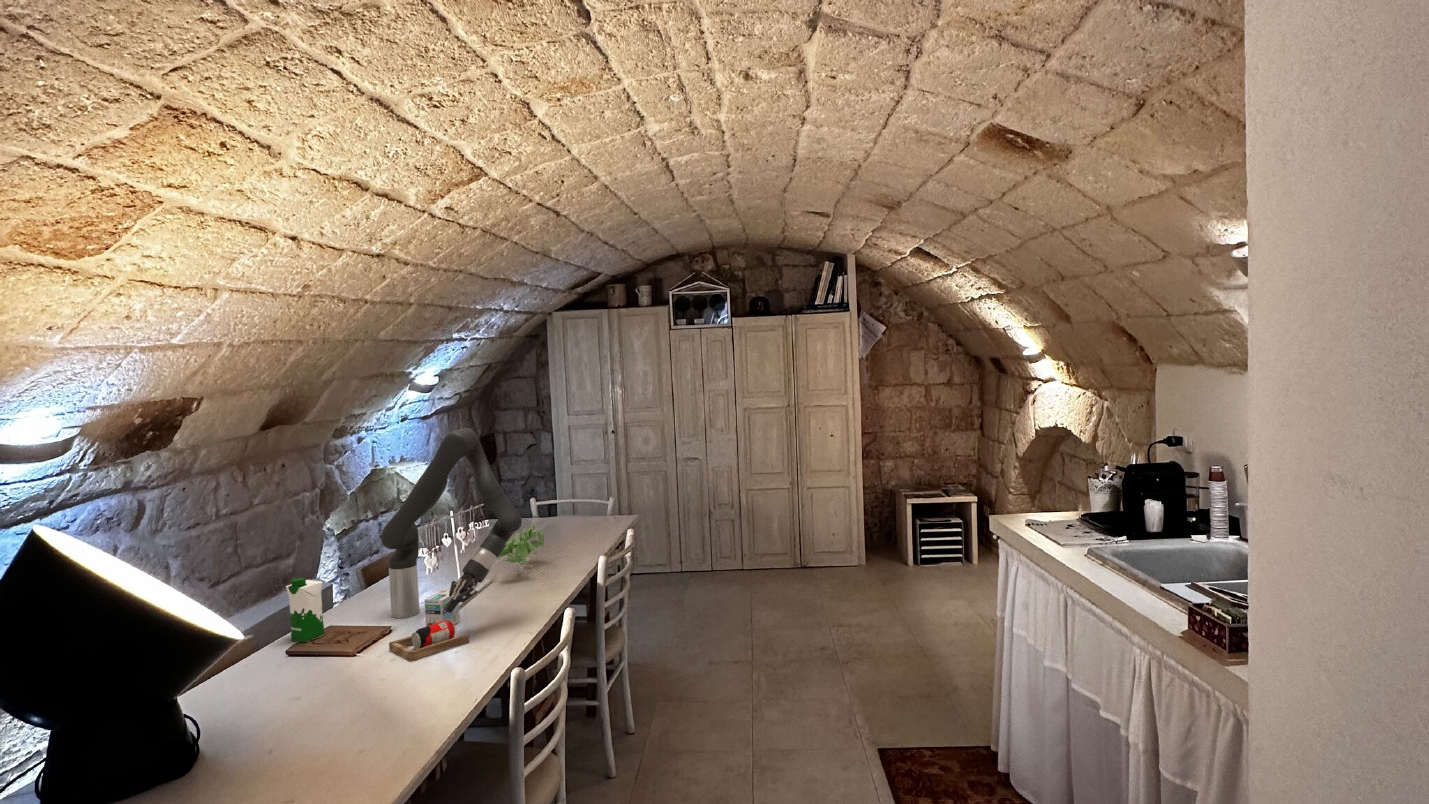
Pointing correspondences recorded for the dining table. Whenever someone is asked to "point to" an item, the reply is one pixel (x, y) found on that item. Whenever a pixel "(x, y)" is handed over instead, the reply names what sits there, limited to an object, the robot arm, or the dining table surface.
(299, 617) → the milk carton
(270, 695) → the dining table surface
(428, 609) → the light bulb box
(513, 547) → the plant cuttings
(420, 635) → the beverage can
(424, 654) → the frame
